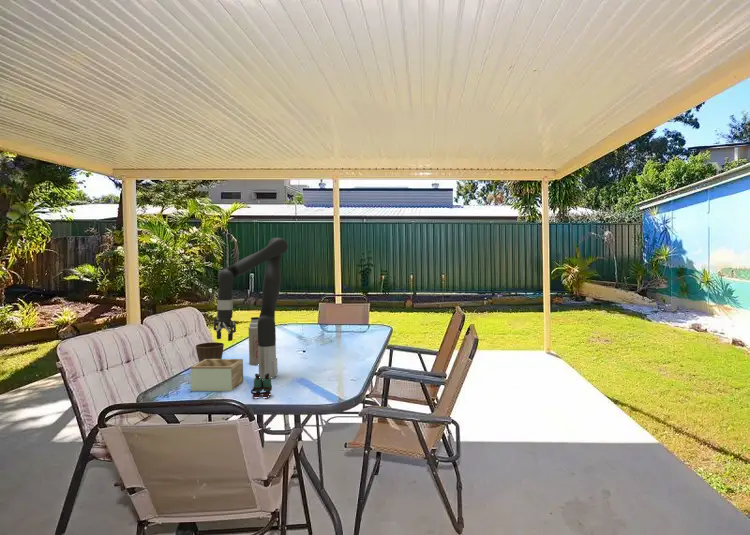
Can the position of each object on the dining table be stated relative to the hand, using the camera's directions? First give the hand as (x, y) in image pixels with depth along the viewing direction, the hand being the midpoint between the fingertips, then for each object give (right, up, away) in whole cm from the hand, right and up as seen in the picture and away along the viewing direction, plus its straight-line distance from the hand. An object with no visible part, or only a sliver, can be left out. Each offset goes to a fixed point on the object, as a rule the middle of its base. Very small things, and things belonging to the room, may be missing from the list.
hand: (224, 339), depth 259 cm
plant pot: (-14, -22, +22) cm, 35 cm away
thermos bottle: (+6, -21, +43) cm, 48 cm away
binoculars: (+25, -23, -25) cm, 42 cm away
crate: (-2, -23, -5) cm, 23 cm away
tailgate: (-2, -23, -14) cm, 27 cm away
